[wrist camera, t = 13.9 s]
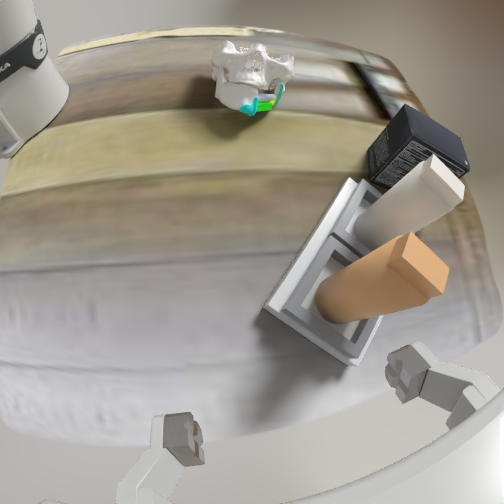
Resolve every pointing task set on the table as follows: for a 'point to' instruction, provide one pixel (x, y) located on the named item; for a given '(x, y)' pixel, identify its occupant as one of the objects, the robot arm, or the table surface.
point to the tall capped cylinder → (383, 282)
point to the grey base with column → (358, 250)
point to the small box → (413, 148)
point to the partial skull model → (249, 77)
